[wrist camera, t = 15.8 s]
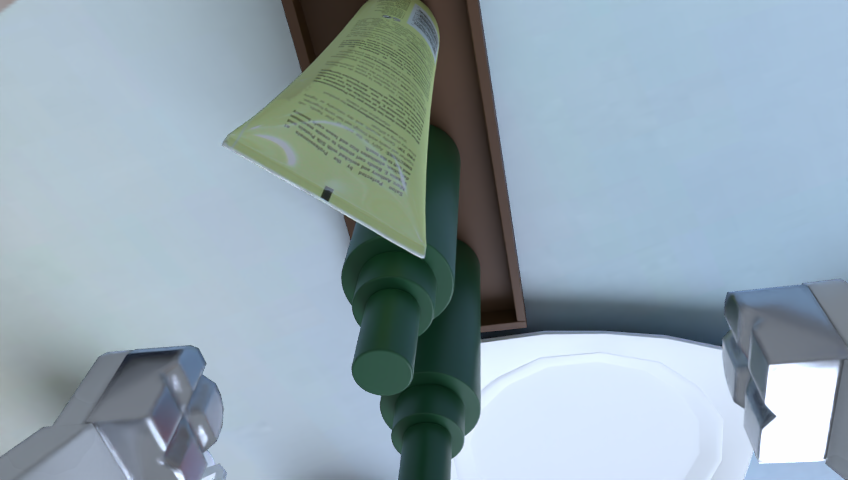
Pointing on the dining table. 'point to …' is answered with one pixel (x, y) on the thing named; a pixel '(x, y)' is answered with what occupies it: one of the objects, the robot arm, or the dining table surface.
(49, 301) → the dining table surface
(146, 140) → the dining table surface
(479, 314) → the bottle
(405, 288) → the bottle
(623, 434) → the plate
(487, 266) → the tray
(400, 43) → the tube
